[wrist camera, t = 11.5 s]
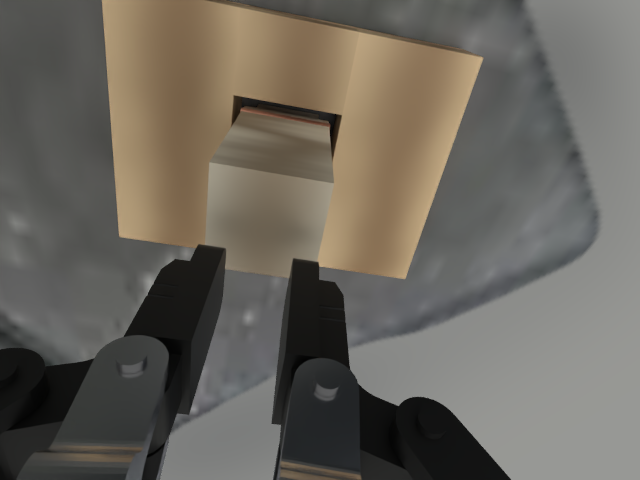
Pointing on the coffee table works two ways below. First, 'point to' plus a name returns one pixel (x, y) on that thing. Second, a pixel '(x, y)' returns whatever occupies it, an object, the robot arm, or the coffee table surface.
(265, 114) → the ash peg
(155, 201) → the oak board
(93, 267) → the coffee table surface
